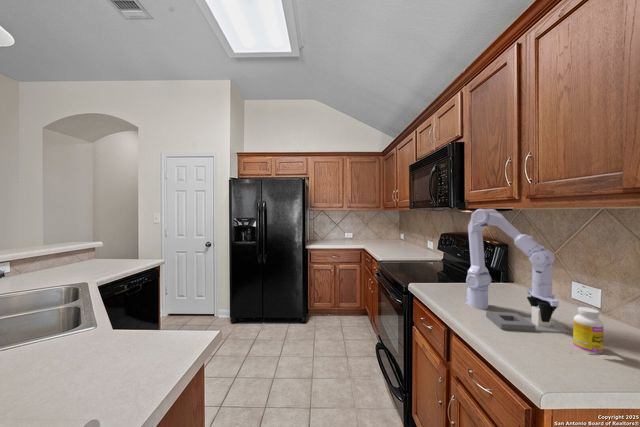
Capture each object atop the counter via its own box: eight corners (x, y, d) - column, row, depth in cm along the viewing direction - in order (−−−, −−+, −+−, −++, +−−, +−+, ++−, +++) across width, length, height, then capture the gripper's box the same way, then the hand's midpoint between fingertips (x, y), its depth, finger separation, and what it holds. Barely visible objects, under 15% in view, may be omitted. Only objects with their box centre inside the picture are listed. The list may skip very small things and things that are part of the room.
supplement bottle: (593, 357, 81) (593, 314, 81) (567, 347, 88) (568, 306, 87) (608, 354, 83) (609, 312, 83) (582, 344, 89) (583, 304, 89)
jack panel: (486, 318, 110) (486, 311, 110) (546, 321, 107) (546, 314, 107) (501, 332, 98) (501, 323, 98) (570, 336, 95) (570, 327, 95)
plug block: (531, 324, 104) (531, 303, 104) (543, 325, 103) (543, 304, 103) (538, 329, 100) (538, 307, 100) (550, 329, 99) (550, 307, 99)
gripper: (568, 288, 94) (568, 328, 94) (541, 278, 108) (540, 312, 108) (546, 287, 95) (545, 327, 95) (521, 277, 109) (521, 311, 109)
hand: (541, 319), depth 102 cm, fingers closed on plug block, 4 cm apart
